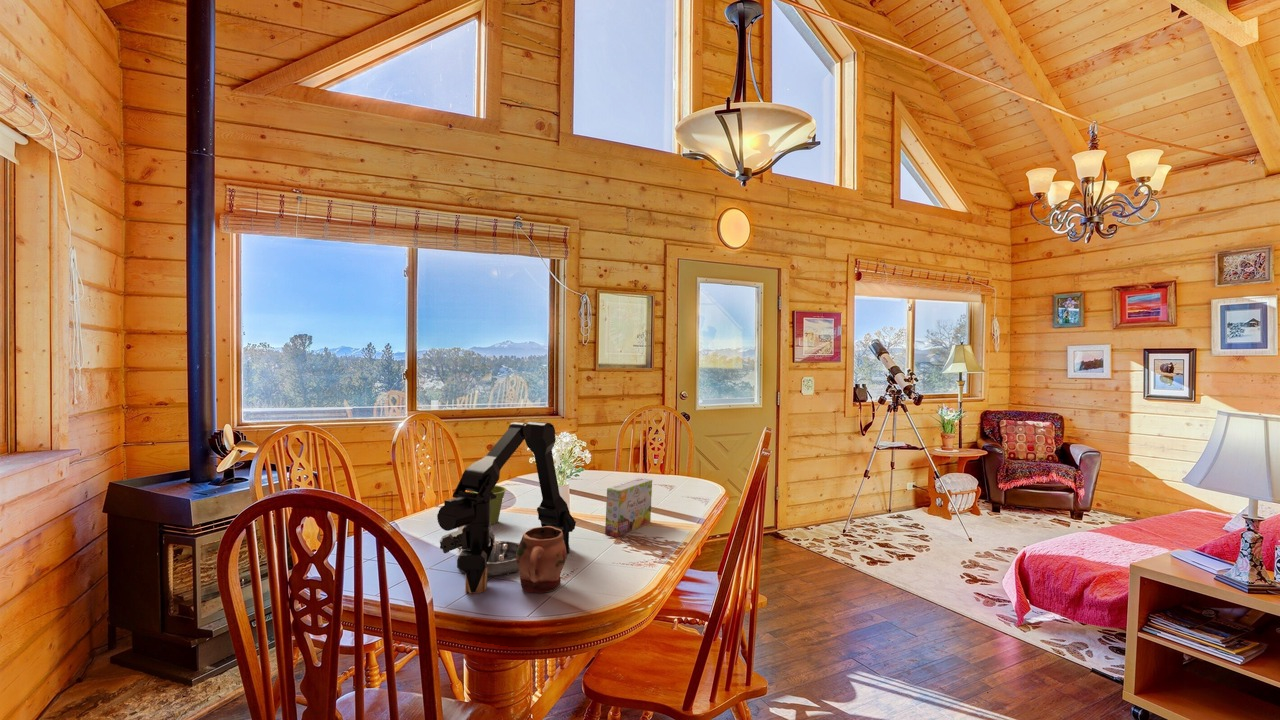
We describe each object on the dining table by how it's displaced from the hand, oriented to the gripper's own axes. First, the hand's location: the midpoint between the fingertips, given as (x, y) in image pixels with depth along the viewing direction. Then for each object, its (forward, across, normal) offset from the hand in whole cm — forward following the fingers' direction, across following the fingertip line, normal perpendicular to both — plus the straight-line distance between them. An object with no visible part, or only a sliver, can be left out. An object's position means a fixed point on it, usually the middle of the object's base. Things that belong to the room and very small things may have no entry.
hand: (476, 584), depth 143 cm
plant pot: (+2, -57, -5) cm, 57 cm away
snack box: (+2, -49, +42) cm, 64 cm away
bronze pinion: (+1, 0, 0) cm, 1 cm away
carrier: (+1, -17, +2) cm, 17 cm away
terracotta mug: (+2, 0, +15) cm, 15 cm away
